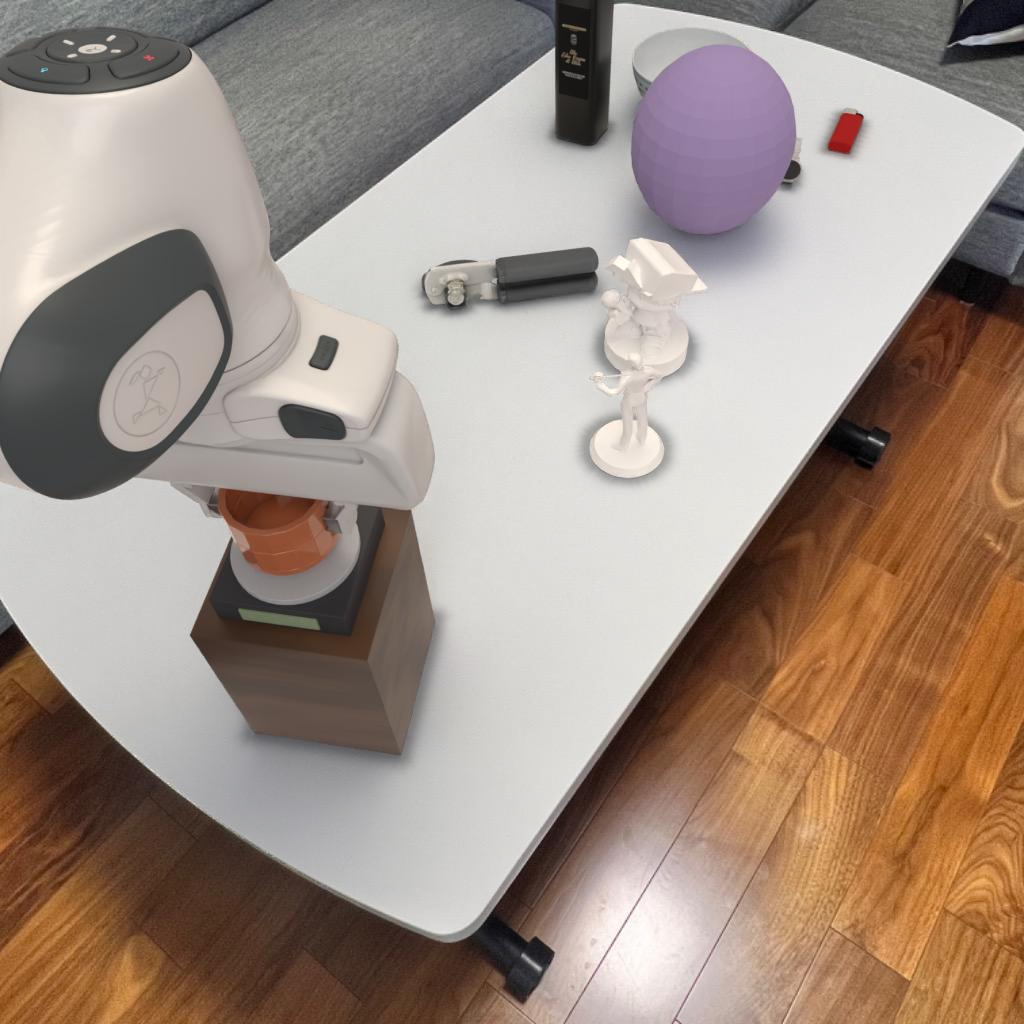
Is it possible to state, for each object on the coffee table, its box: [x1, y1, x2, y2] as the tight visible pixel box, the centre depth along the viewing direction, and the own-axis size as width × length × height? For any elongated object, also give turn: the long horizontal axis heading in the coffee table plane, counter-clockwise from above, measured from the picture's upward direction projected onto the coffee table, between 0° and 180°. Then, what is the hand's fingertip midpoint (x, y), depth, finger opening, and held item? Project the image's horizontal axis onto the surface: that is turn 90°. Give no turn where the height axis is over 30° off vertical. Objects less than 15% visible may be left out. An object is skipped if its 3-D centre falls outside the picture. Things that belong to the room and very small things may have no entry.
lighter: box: [827, 107, 865, 154], centre depth 117 cm, size 3×1×8 cm
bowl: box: [218, 488, 339, 576], centre depth 58 cm, size 6×6×4 cm
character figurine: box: [600, 237, 708, 380], centre depth 92 cm, size 9×10×12 cm
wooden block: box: [189, 507, 436, 756], centre depth 70 cm, size 12×12×16 cm
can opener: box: [421, 246, 600, 310], centre depth 101 cm, size 19×6×5 cm, turn 95°
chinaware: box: [631, 26, 753, 98], centre depth 118 cm, size 15×15×8 cm
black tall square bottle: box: [554, 0, 615, 146], centre depth 108 cm, size 6×6×30 cm
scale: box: [209, 504, 385, 636], centre depth 62 cm, size 9×9×3 cm
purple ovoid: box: [630, 44, 798, 235], centre depth 100 cm, size 17×17×20 cm
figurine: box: [588, 352, 665, 479], centre depth 84 cm, size 7×7×12 cm
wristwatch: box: [782, 137, 804, 184], centre depth 111 cm, size 3×5×5 cm, turn 163°
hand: (283, 517), depth 58 cm, fingers closed on bowl, 6 cm apart
